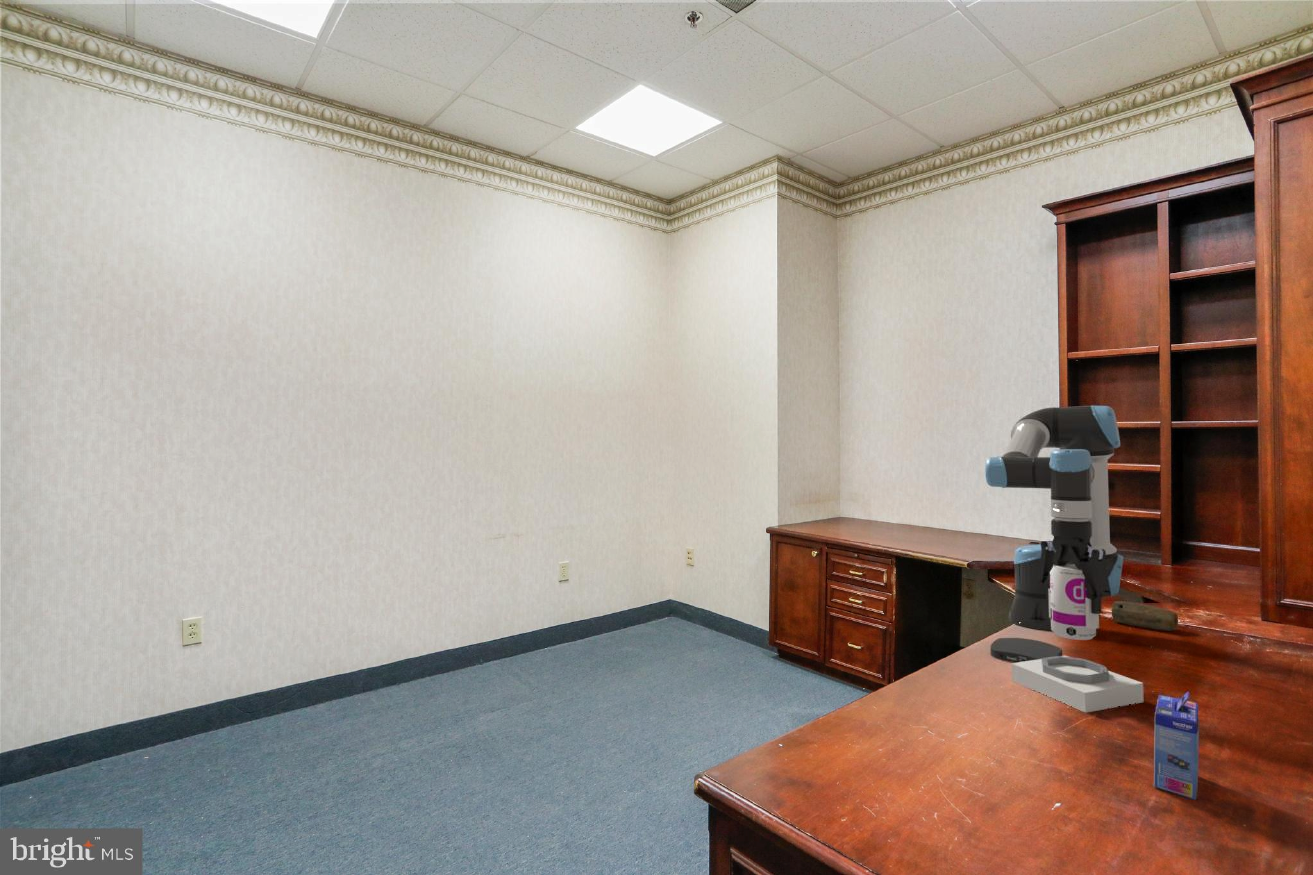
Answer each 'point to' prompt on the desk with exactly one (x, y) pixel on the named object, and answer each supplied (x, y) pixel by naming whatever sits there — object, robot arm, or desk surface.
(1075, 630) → the supplement can
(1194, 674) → the desk surface
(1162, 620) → the stone weight
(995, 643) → the media streaming box
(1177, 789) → the ink cartridge box
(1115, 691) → the mount base
